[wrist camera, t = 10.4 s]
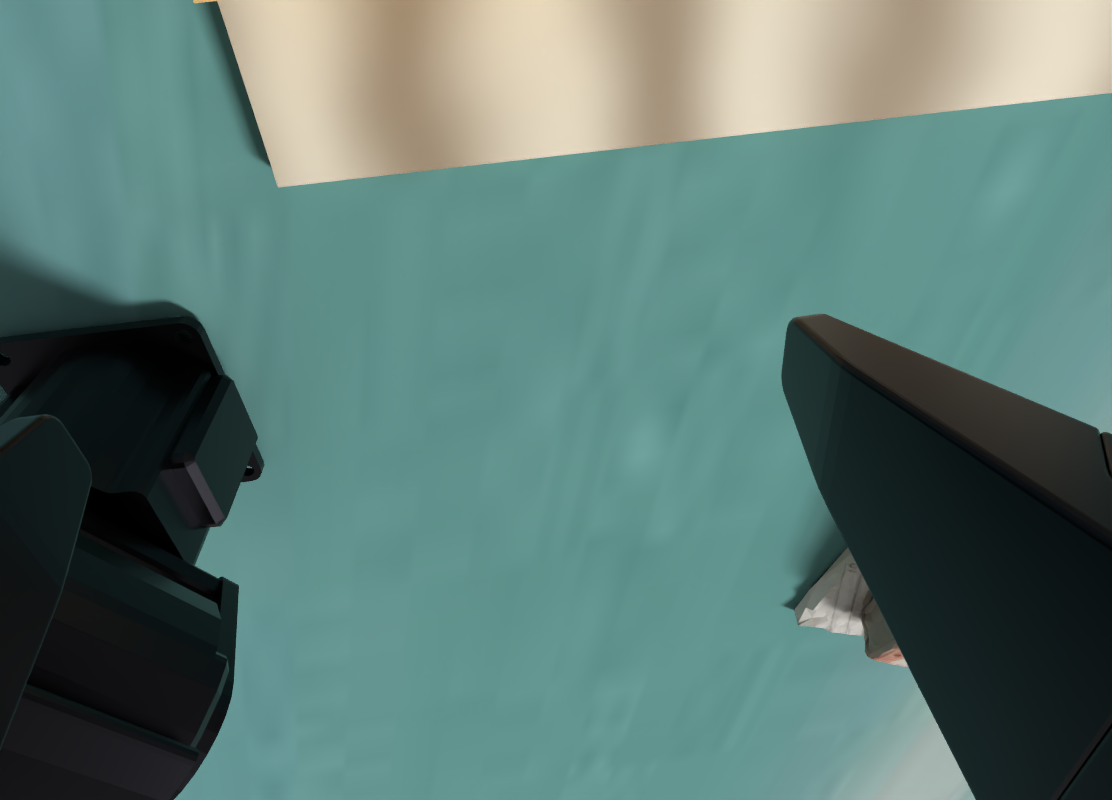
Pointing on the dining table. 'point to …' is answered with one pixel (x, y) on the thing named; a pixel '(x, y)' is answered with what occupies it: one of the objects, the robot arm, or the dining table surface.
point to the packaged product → (849, 610)
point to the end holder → (200, 0)
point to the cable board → (629, 72)
